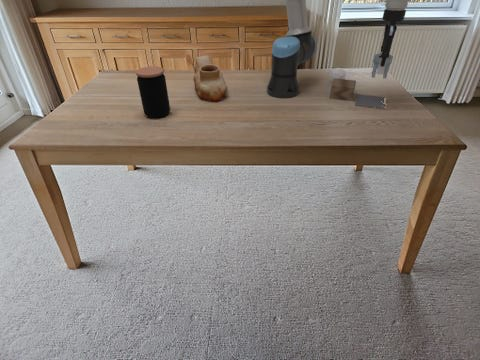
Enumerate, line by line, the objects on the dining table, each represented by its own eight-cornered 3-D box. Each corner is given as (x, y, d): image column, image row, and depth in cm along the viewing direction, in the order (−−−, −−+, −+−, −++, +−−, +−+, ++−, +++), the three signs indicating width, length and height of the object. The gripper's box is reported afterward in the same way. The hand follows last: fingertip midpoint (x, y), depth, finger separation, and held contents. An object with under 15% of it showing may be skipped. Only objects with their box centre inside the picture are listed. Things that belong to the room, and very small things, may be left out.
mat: (355, 105, 133) (355, 104, 133) (356, 94, 143) (356, 93, 143) (387, 109, 130) (387, 108, 129) (386, 98, 139) (386, 97, 139)
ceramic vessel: (216, 81, 159) (214, 51, 150) (231, 100, 139) (230, 67, 130) (190, 85, 155) (186, 54, 146) (201, 104, 135) (198, 70, 126)
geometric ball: (331, 88, 156) (323, 75, 154) (340, 79, 159) (332, 66, 156) (341, 85, 150) (334, 71, 147) (351, 76, 152) (343, 62, 149)
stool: (369, 77, 127) (374, 57, 123) (370, 72, 133) (374, 53, 128) (388, 79, 125) (393, 59, 121) (387, 74, 131) (392, 54, 126)
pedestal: (329, 98, 140) (331, 85, 136) (331, 90, 147) (333, 78, 143) (352, 101, 137) (355, 88, 133) (353, 93, 144) (356, 80, 141)
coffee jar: (175, 110, 131) (169, 67, 120) (162, 121, 123) (154, 76, 112) (153, 107, 134) (145, 65, 123) (139, 117, 126) (129, 73, 115)
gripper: (408, 13, 106) (390, 79, 119) (404, 5, 121) (388, 65, 134) (385, 12, 108) (370, 77, 121) (384, 4, 123) (370, 63, 136)
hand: (379, 71), depth 128 cm, fingers closed on stool, 7 cm apart
